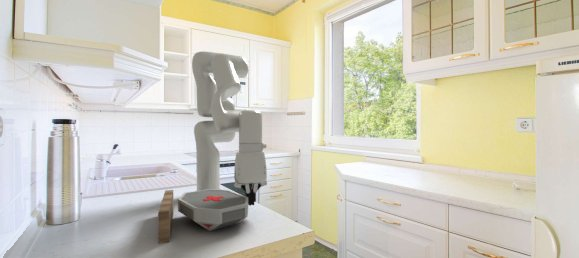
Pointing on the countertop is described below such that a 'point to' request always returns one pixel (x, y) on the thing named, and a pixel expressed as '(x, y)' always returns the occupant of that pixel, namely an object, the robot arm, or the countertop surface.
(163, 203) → the walnut board
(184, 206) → the first aid kit
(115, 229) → the countertop surface
